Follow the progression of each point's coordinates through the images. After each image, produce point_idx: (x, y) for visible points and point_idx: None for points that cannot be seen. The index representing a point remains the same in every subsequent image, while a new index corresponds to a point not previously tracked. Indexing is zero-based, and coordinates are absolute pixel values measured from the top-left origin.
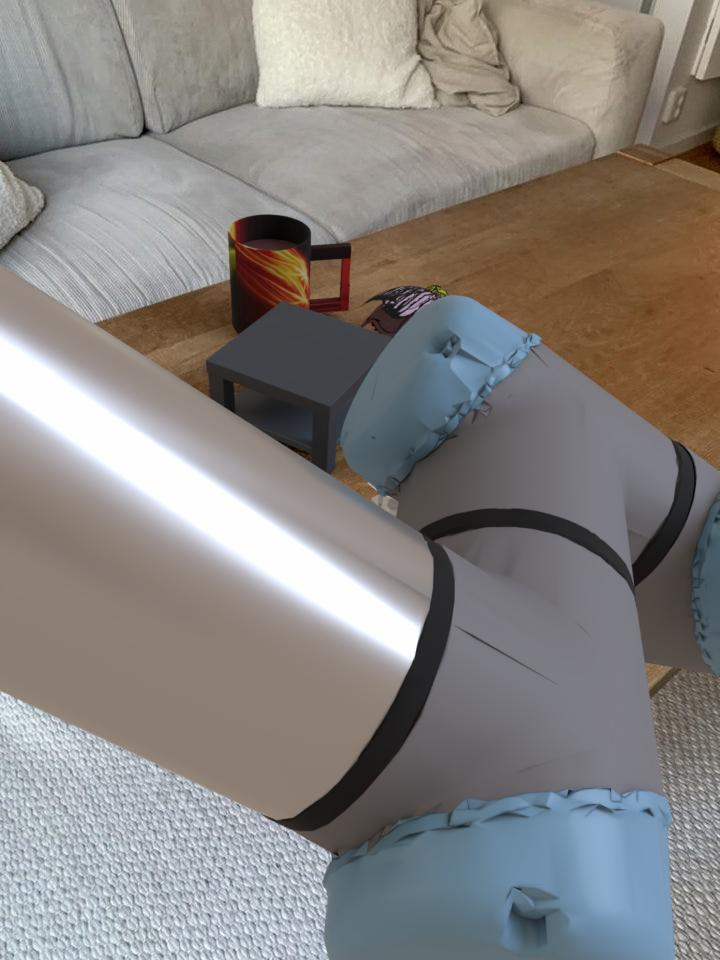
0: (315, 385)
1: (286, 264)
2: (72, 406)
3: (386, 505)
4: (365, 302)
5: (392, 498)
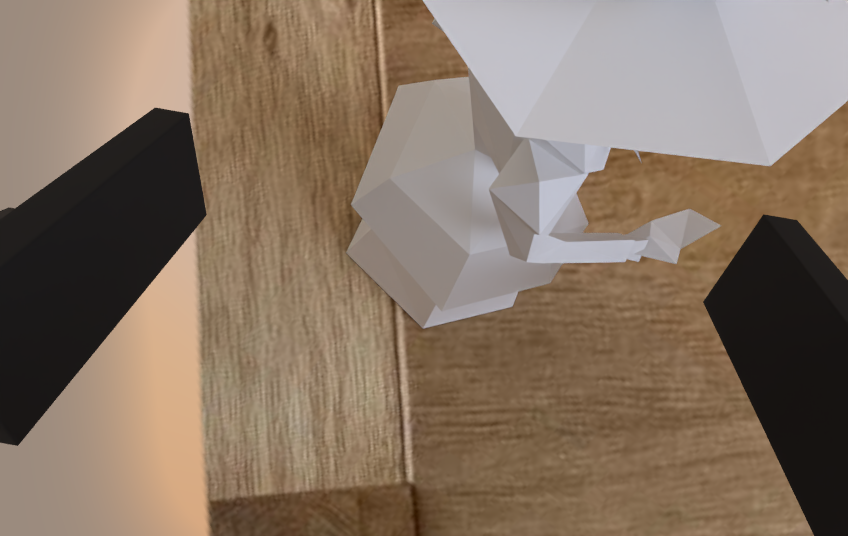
0: None
1: None
2: None
3: (434, 20)
4: None
5: (433, 4)
